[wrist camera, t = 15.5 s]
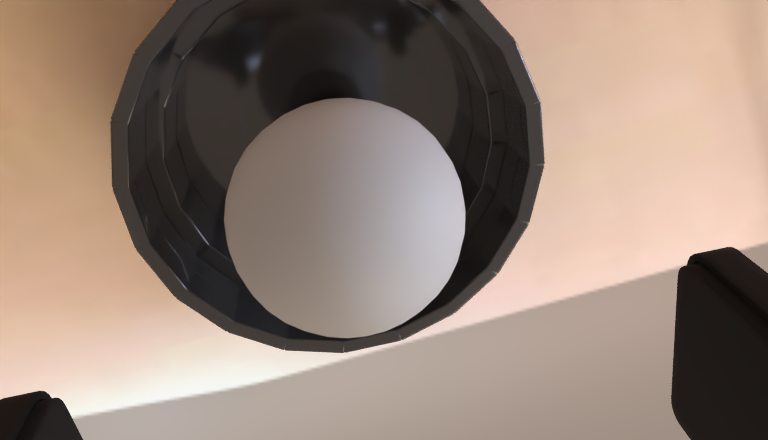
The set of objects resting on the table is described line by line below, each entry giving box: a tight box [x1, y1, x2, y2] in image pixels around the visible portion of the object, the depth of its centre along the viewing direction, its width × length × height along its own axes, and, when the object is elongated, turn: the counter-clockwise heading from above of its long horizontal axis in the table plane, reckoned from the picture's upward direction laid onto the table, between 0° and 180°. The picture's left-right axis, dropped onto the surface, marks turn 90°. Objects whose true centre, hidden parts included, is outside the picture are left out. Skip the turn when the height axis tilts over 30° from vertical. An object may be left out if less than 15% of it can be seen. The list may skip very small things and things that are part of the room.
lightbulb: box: [224, 98, 465, 338], centre depth 19 cm, size 6×6×11 cm
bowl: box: [111, 0, 545, 353], centre depth 22 cm, size 13×13×6 cm
